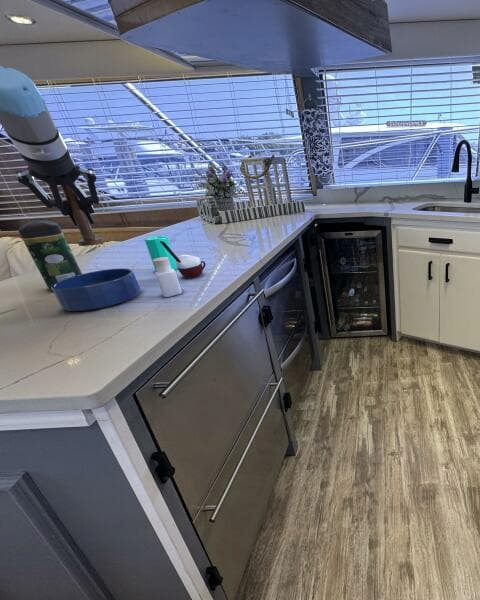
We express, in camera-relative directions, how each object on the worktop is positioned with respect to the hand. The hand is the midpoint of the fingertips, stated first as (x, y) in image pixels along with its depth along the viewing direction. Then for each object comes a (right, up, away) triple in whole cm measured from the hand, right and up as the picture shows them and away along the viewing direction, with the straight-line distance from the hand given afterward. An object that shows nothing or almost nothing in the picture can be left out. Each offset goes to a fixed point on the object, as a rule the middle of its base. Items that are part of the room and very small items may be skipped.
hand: (83, 220), depth 86 cm
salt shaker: (+26, -20, -3) cm, 33 cm away
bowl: (+10, -22, -5) cm, 24 cm away
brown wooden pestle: (+3, -6, -1) cm, 7 cm away
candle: (+9, -12, +18) cm, 23 cm away
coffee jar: (-11, -18, +7) cm, 22 cm away
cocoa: (+23, -15, +10) cm, 29 cm away
